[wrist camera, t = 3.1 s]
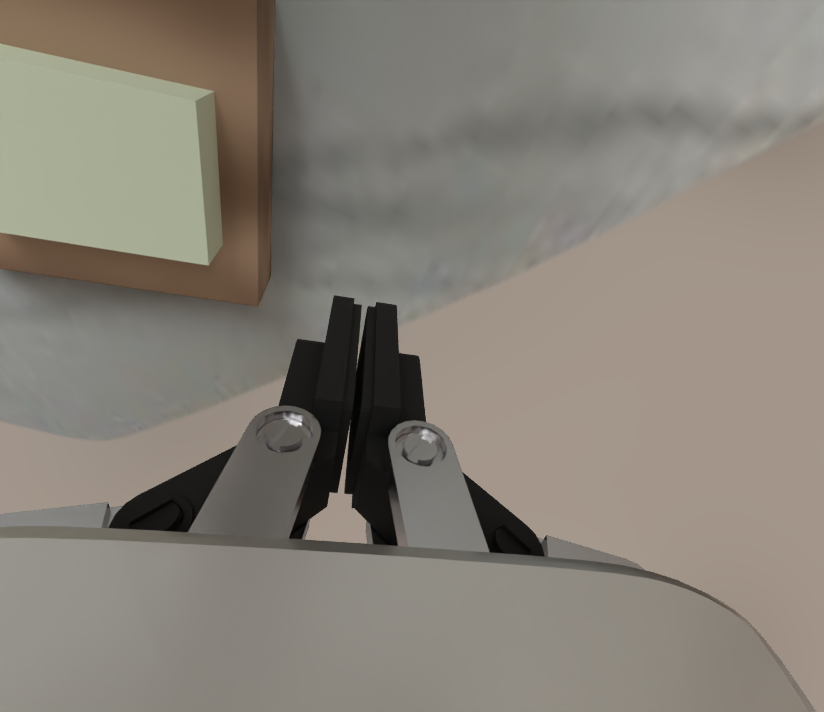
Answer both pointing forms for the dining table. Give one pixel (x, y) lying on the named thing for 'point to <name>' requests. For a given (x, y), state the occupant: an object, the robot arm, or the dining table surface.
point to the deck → (235, 126)
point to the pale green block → (107, 158)
